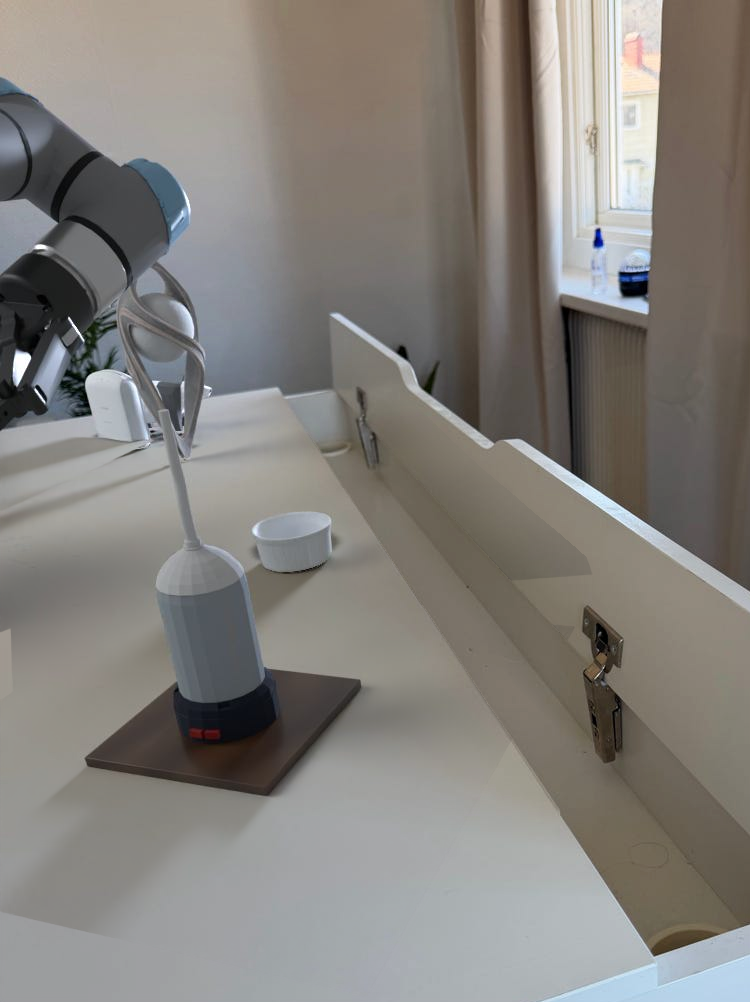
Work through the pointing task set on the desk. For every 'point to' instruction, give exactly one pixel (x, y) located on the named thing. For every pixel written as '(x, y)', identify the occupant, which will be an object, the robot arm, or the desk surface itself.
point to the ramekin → (293, 541)
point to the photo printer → (116, 406)
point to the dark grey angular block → (172, 402)
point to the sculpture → (163, 346)
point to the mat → (233, 765)
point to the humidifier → (211, 632)
